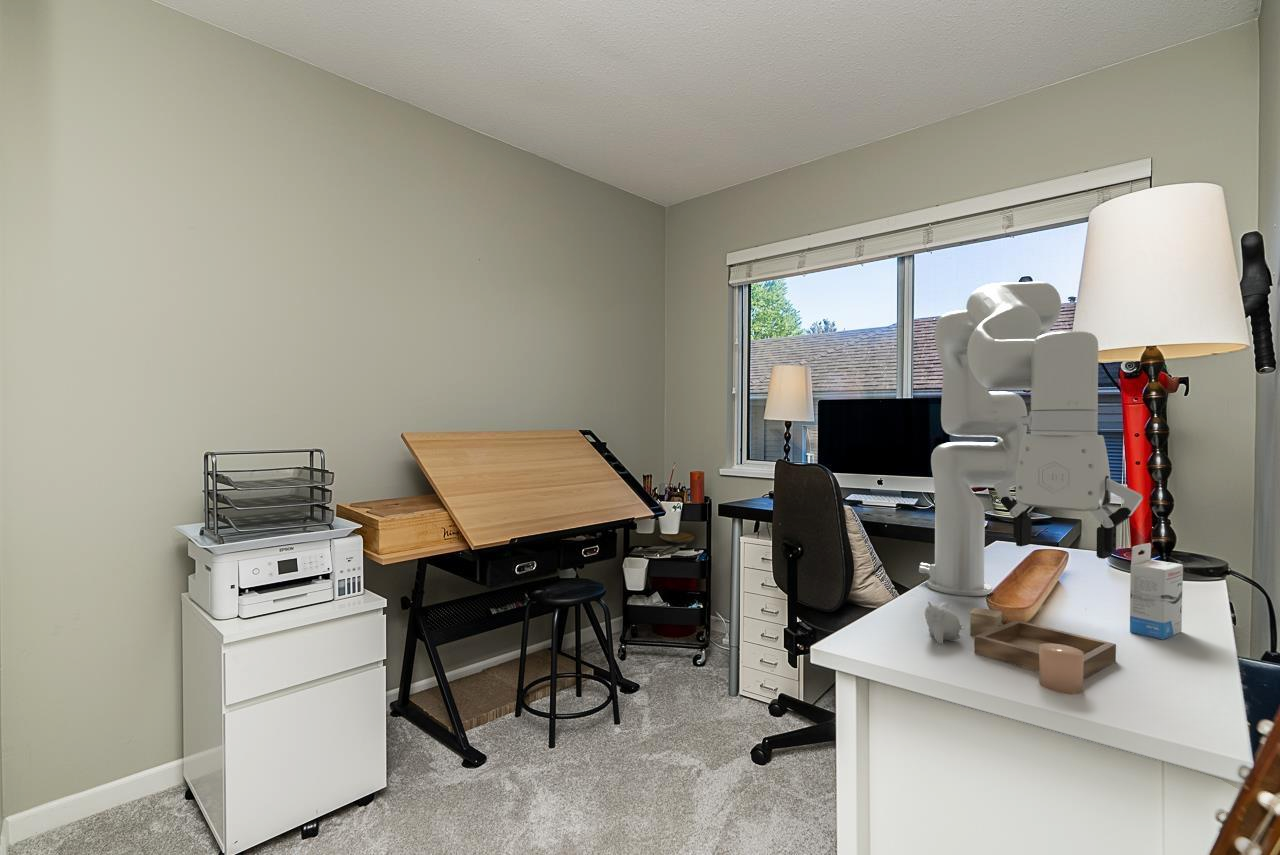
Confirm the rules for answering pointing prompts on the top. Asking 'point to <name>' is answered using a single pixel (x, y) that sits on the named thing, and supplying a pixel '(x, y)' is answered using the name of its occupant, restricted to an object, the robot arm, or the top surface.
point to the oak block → (984, 620)
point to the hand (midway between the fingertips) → (1062, 550)
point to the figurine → (942, 622)
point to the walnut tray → (1024, 639)
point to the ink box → (1155, 595)
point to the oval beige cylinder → (1061, 668)
